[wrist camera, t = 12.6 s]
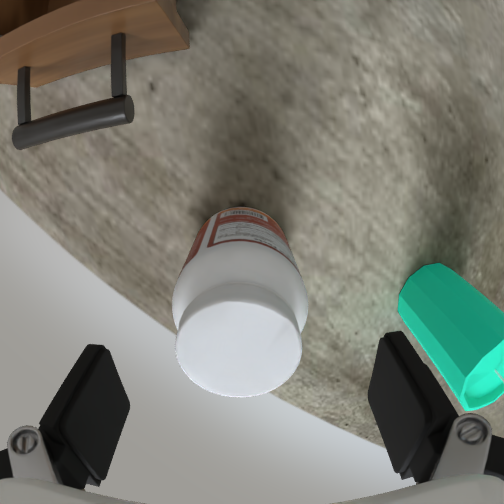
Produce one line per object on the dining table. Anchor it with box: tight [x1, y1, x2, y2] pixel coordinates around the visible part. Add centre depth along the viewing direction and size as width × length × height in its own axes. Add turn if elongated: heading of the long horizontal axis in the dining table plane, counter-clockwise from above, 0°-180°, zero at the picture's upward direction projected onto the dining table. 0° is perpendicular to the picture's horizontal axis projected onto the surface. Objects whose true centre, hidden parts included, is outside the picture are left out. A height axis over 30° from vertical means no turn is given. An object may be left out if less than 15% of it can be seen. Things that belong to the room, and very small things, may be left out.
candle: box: [398, 263, 504, 411], centre depth 17 cm, size 6×6×12 cm
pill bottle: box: [172, 207, 308, 397], centre depth 16 cm, size 6×6×11 cm
